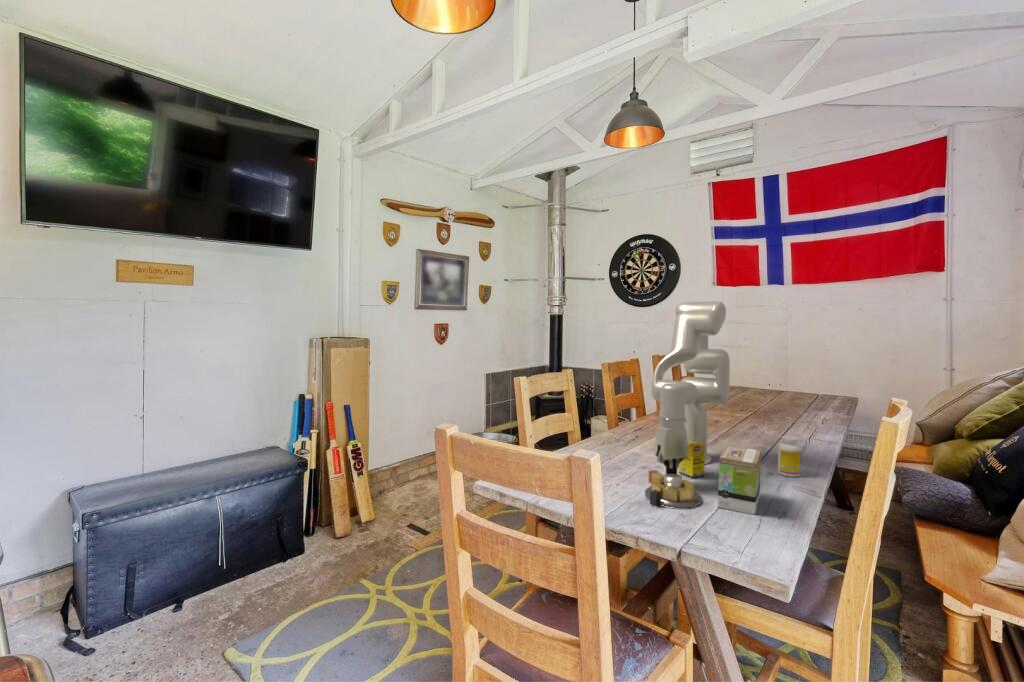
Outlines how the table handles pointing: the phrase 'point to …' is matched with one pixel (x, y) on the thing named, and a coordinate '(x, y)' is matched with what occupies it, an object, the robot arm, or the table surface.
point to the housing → (657, 500)
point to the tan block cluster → (671, 488)
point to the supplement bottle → (789, 457)
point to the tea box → (739, 479)
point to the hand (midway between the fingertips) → (671, 479)
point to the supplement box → (693, 460)
